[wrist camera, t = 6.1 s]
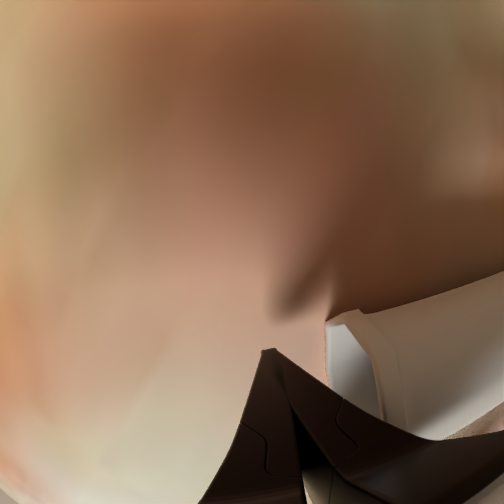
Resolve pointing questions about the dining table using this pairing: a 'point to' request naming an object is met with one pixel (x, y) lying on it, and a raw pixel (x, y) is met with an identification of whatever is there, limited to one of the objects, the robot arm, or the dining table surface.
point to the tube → (423, 359)
